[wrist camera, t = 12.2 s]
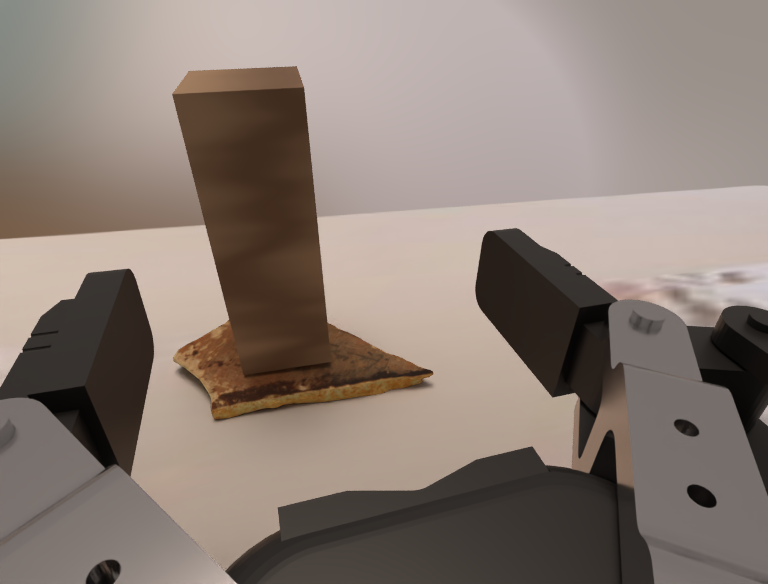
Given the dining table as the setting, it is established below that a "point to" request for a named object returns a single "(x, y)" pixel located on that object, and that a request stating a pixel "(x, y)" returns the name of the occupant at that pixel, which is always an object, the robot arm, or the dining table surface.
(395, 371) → the shard
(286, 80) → the pillar
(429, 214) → the dining table surface
